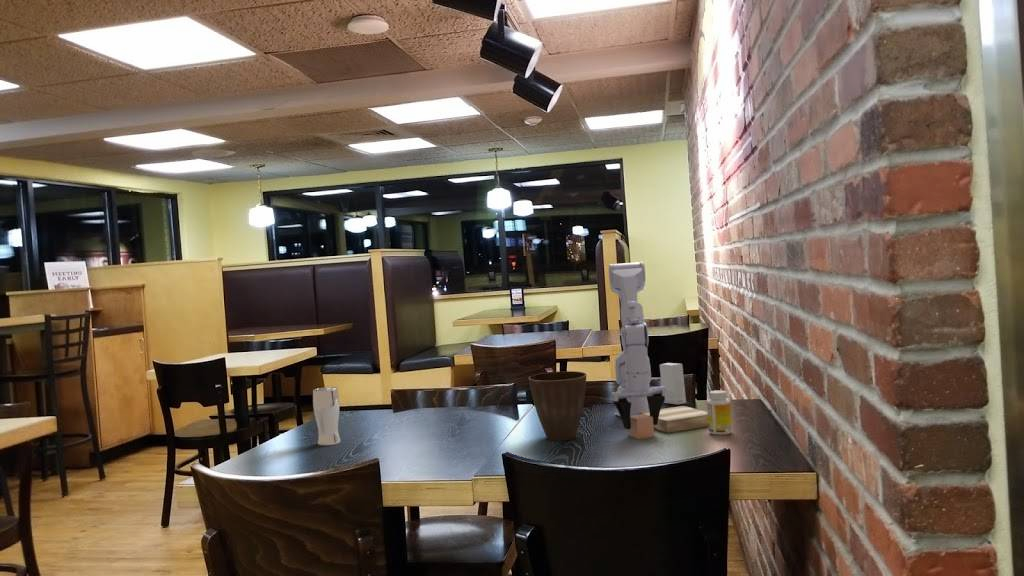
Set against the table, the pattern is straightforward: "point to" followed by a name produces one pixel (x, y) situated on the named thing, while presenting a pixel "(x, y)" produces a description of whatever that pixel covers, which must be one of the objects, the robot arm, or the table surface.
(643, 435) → the terracotta block
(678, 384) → the skincare box
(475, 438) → the table surface
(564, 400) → the plant pot
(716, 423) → the supplement bottle
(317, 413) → the beer glass
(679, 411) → the maple base
